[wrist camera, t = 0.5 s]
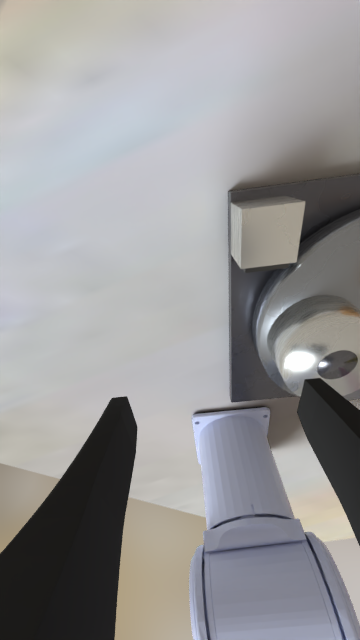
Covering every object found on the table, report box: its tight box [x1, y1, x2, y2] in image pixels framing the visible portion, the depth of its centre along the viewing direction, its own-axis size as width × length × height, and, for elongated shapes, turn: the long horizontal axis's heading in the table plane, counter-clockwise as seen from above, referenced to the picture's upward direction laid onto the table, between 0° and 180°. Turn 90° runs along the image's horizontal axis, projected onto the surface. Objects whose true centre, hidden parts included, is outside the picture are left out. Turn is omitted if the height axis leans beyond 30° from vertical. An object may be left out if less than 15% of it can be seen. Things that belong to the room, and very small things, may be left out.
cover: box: [267, 295, 360, 397], centre depth 15 cm, size 6×6×3 cm
